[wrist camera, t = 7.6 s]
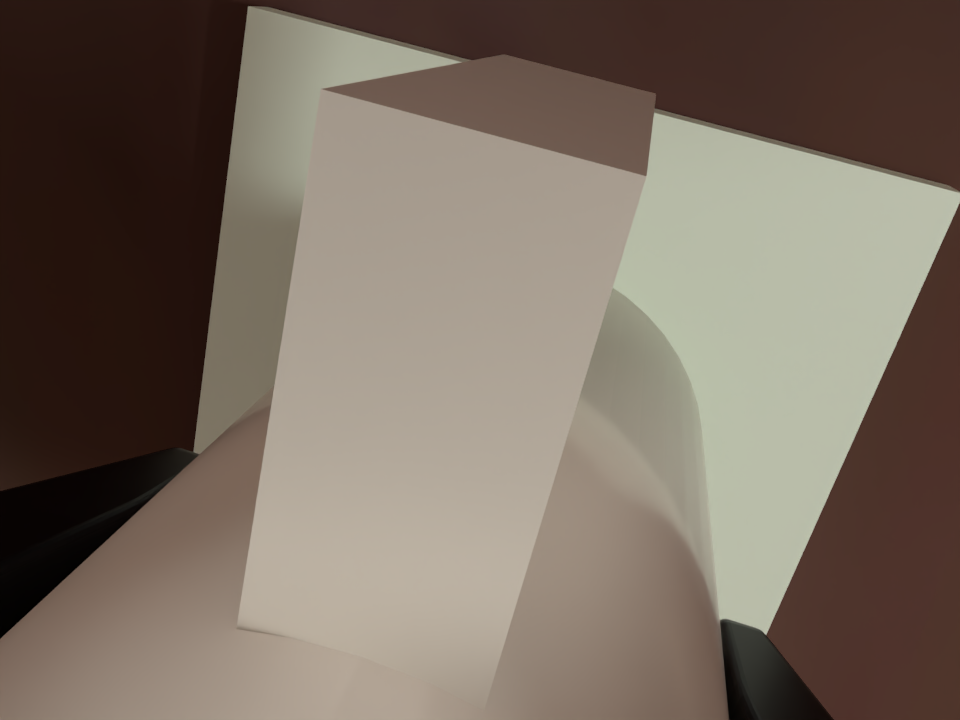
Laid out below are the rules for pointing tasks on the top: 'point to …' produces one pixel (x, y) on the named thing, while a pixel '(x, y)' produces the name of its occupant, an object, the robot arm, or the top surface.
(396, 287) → the cream jug
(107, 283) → the top surface
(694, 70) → the top surface
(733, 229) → the sage coaster
